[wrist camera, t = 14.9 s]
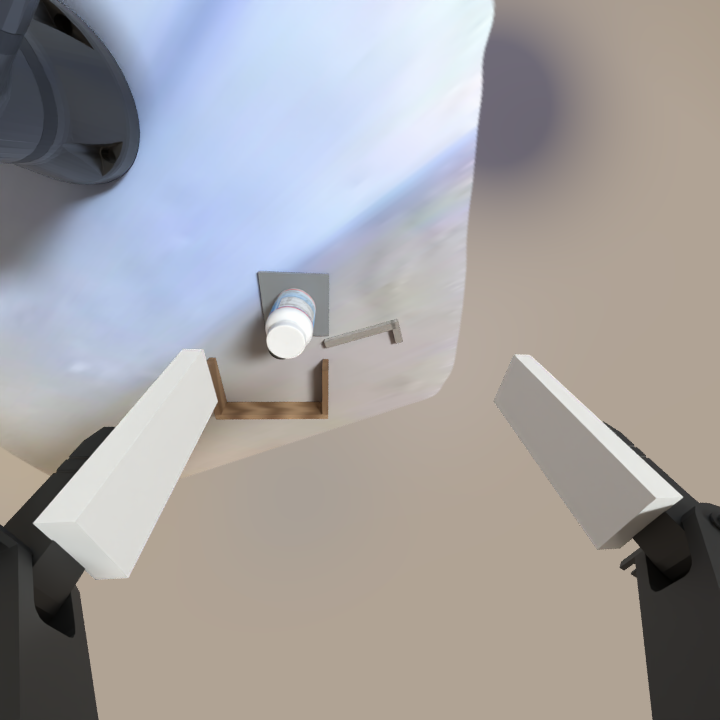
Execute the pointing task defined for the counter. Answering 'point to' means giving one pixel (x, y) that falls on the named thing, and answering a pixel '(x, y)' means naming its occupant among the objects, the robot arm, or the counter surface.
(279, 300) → the pill bottle
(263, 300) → the coaster
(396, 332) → the crook tool
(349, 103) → the counter surface
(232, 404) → the cubby
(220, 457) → the counter surface
